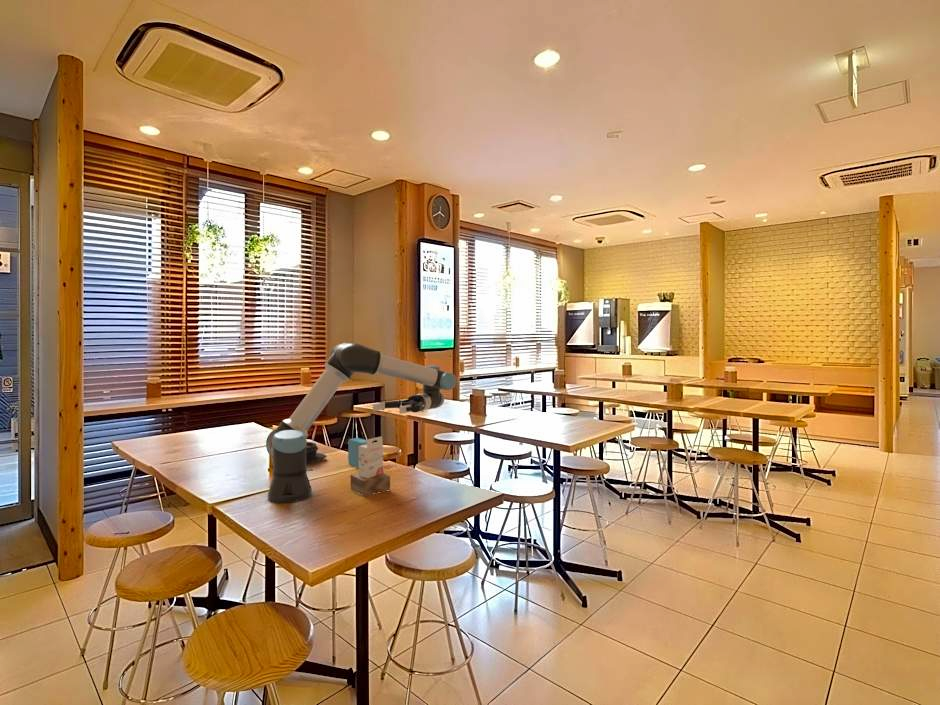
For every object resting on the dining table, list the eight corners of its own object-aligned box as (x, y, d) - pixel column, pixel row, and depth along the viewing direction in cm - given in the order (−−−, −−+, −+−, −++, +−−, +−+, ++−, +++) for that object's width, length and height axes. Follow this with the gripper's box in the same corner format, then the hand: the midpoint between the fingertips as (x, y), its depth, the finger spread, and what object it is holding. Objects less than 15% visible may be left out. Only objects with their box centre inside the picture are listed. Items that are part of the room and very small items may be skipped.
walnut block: (363, 497, 184) (363, 481, 183) (350, 490, 192) (350, 474, 192) (390, 491, 191) (389, 475, 190) (376, 484, 199) (376, 469, 199)
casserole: (280, 471, 217) (279, 452, 216) (264, 463, 230) (264, 445, 230) (333, 462, 233) (333, 444, 233) (316, 455, 247) (316, 438, 247)
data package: (371, 467, 223) (371, 441, 223) (362, 469, 220) (362, 442, 220) (356, 462, 232) (356, 437, 232) (348, 464, 229) (348, 438, 229)
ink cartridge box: (374, 471, 196) (374, 434, 196) (383, 473, 193) (383, 436, 193) (357, 476, 189) (358, 438, 189) (367, 478, 186) (367, 439, 186)
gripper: (442, 413, 211) (411, 421, 192) (396, 409, 223) (363, 415, 205) (442, 396, 210) (411, 401, 192) (396, 392, 223) (363, 397, 205)
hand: (386, 408), depth 199 cm, fingers open, 13 cm apart
